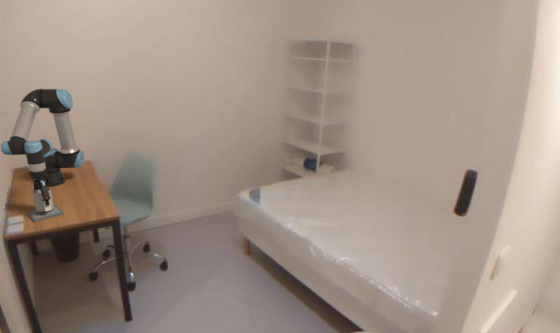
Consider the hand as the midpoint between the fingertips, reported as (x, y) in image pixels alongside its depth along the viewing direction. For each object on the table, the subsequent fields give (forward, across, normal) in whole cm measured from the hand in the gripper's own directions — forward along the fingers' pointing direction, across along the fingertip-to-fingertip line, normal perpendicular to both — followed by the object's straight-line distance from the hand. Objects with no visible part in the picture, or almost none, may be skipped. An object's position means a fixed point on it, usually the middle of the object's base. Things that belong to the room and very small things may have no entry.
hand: (44, 206), depth 192 cm
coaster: (+4, 0, 0) cm, 4 cm away
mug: (+2, 0, 0) cm, 2 cm away
